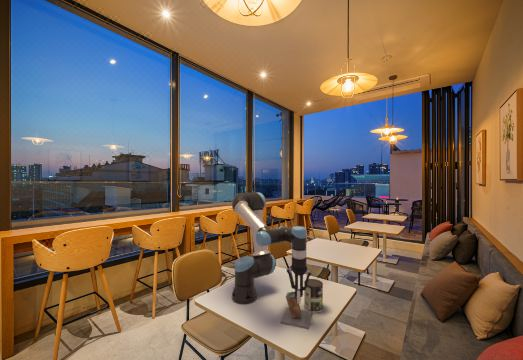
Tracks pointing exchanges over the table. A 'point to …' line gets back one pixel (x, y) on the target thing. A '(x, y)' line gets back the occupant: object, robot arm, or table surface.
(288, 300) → the walnut block
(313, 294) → the coffee can
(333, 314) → the table surface
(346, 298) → the table surface
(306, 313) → the slate coaster
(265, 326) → the table surface
